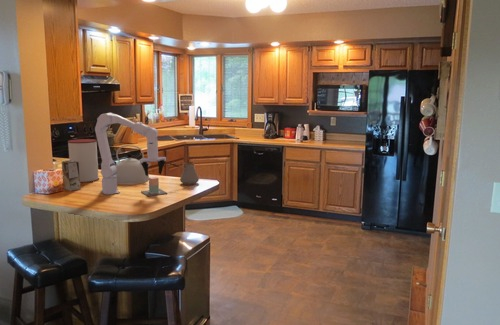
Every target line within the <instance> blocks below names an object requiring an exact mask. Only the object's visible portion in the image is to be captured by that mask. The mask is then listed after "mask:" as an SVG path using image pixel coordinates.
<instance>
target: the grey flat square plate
mask: <svg viewBox="0 0 500 325" xmlns="http://www.w3.org/2000/svg"><path fill="white" fill-rule="evenodd" d="M140 193H142V194H143V195H145V196H146V197H153V196H154V197H155V196H162V195H168V192H167V191H164V190H163V189H161V188H159V192H156V193H151V192H149V189H148V190H141V191H140Z"/></svg>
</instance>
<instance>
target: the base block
mask: <svg viewBox="0 0 500 325" xmlns="http://www.w3.org/2000/svg"><path fill="white" fill-rule="evenodd" d="M159 185H160V184H159ZM159 185H156V186H151V185H149V184H148V190H149V192H151V193H156V192H159V189H160V188H159Z"/></svg>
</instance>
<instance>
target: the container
mask: <svg viewBox="0 0 500 325" xmlns="http://www.w3.org/2000/svg"><path fill="white" fill-rule="evenodd" d="M67 143H68V144H67V146H68V160H73V161H77V162H79V176H80V184H82V183H83V184H85V183H84V182H87V183H93V181H94V182H97V181H99V180H100V177H99V163H98V162H99V161H98V147H97V146H98V141H97V139H95V138H94V139H93V138H92V139H91V138H85V139H84V138H81V139H80V138H79V139H71V140H68V141H67Z"/></svg>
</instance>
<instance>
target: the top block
mask: <svg viewBox="0 0 500 325" xmlns="http://www.w3.org/2000/svg"><path fill="white" fill-rule="evenodd" d="M159 180H160V179H159V177H157V176H150V177H149V180H148V186H149V185H151V186H156V185H160V184H159V182H160V181H159Z"/></svg>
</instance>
